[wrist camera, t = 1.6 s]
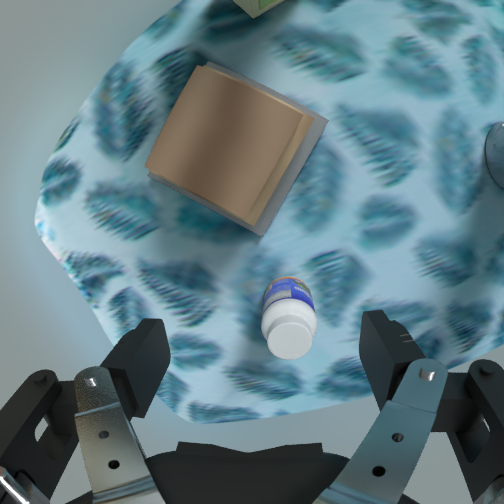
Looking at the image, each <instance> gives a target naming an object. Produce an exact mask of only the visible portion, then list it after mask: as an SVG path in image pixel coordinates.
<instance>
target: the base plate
mask: <svg viewBox="0 0 504 504" xmlns="http://www.w3.org/2000/svg"><path fill="white" fill-rule="evenodd" d="M205 66H208V67H210V68H213V69H215V70H218V71H220V72H222V73H225V74H227V75H229V76H232V77H234V78H236V79H238V80H241V81H243V82H245V83H247V84H249V85H251V86H254V87H256V88H258V89H260V90H262V91H264V92H266V93H268V94H270V95H272V96H274V97H276V98H278V99H280V100H282V101H284V102H286V103H288V104H290V105H291V106H293V107H295V108H297V109H299V110H301V111H303V112H304V113H306V114H308V115H310V116H311V117H313V118H315V119H314V121H313V123H312V124H311V126H310V128H309V130H308V131H307V133H306V135H305V137H304V138H303V140H302V142H301V144H300V145H299V147H298V149H297V151H296V153H295V154H294V156H293V158H292V160H291V161H290V163H289V165H288V167H287V168H286V170H285V172H284V174H283V175H282V177H281V179H280V181H279V183H278V184H277V186H276V188H275V190H274V191H273V193H272V195H271V197H270V199H269V200H268V202H267V204H266V206H265V207H264V209H263V211H262V213H261V215H260V216H259V218H258V220H257V222H256V224H255V225H254V226H252V225H250V224H248V223H246V222H244V221H243V220H241V219H239V218H237V217H235V216H233V215H232V214H230V213H228V212H226V211H224V210H222V209H220V208H218V207H217V206H215V205H213V204H211V203H209V202H207V201H205V200H203V199H202V198H200V197H198V196H196V195H194V194H192V193H190V192H188V191H186V190H185V189H183V188H181V187H179V186H177V185H175V184H173V183H171V182H169V181H167V180H165V179H164V178H162V177H160V176H158V175H156V174H154V173H152V172H149V174H148V176H149V177H151V178H153V179H155V180H156V181H158V182H160V183H162V184H164V185H166V186H168V187H170V188H172V189H174V190H176V191H177V192H179V193H181V194H183V195H185V196H187V197H189V198H191V199H193V200H194V201H196V202H198V203H200V204H202V205H204V206H206V207H208V208H209V209H211V210H213V211H215V212H217V213H219V214H221V215H222V216H224V217H226V218H228V219H230V220H232V221H234V222H235V223H237V224H239V225H241V226H243V227H245V228H247V229H248V230H250V231H252V232H254V233H256V234H258V235H259V236H261V237H263V235H264V233H265V232H266V230H267V228H268V226H269V225H270V223H271V221H272V219H273V217H274V216H275V214H276V212H277V210H278V209H279V207H280V205H281V203H282V202H283V200H284V198H285V196H286V195H287V193H288V191H289V189H290V188H291V186H292V184H293V182H294V181H295V179H296V177H297V175H298V174H299V172H300V170H301V168H302V167H303V165H304V163H305V161H306V160H307V158H308V156H309V154H310V153H311V151H312V149H313V147H314V146H315V144H316V142H317V140H318V138H319V137H320V135H321V133H322V131H323V130H324V128H325V126H326V124H327V123H328V121H329V120H327V119H326V118H324V117H322V116H321V115H319V114H317V113H315V112H314V111H312V110H310V109H308V108H307V107H305V106H303V105H301V104H299V103H297V102H295V101H294V100H292V99H290V98H288V97H286V96H284V95H282V94H280V93H278V92H276V91H274V90H272V89H270V88H268V87H266V86H264V85H262V84H260V83H258V82H256V81H253V80H251V79H249V78H247V77H245V76H243V75H240V74H238V73H236V72H233V71H231V70H229V69H226V68H224V67H222V66H219V65H217V64H214V63H212V62H209V61H208V62H207V64H206V65H205Z"/></svg>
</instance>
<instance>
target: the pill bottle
mask: <svg viewBox="0 0 504 504" xmlns="http://www.w3.org/2000/svg"><path fill="white" fill-rule="evenodd" d="M261 329H262V333H263V336H264V337H265V339H266V340H267V344H268V348H269V350H270V351H271V352H272V353H273V354H274V355H275V356H276V357H279V358H281V359H286V360H292V359H297V358H300V357H302V356H303V355H305V354H306V353H307V352H308V351H309V349H310V347H311V345H312V338H313V337H314V335H315V333H316V330H317V318H316V314H315V309H314V305H313V301H312V297H311V293H310V290H309V288H308V286H307V285H306V284H305V283H304V282H303V281H302V280H300V279H298V278H296V277H292V276H285V277H280V278H277V279H275V280H274V281H272V282H271V283H270V284H269V286H268V287H267V289H266V291H265V295H264V304H263V313H262V322H261Z"/></svg>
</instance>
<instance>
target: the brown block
mask: <svg viewBox="0 0 504 504" xmlns="http://www.w3.org/2000/svg"><path fill="white" fill-rule="evenodd" d="M314 119H315V118H313V117H311V116H310V115H308V114H306V113H304V112H303V111H301V110H299V109H297V108H295V107H293V106H291V105H290V104H288V103H286V102H284V101H282V100H280V99H278V98H276V97H274V96H272V95H270V94H268V93H266V92H264V91H262V90H260V89H258V88H256V87H254V86H251V85H249V84H247V83H245V82H243V81H241V80H238V79H236V78H234V77H232V76H229V75H227V74H225V73H222V72H220V71H218V70H215V69H213V68H210V67H208V66H205V65H204V66H203V67H202V66H199V65H197V66H196V68H195V70H194V71H193V73H192V75H191V77H190V78H189V80H188V82H187V83H186V85H185V87H184V89H183V91H182V92H181V94H180V96H179V98H178V100H177V101H176V103H175V105H174V107H173V109H172V111H171V113H170V114H169V116H168V118H167V120H166V122H165V124H164V126H163V128H162V130H161V132H160V134H159V136H158V138H157V140H156V142H155V144H154V147H153V149H152V151H151V153H150V155H149V157H148V159H147V162H146V164H145V167H146V168H148V169H149V171H150V172H152V173H154V174H156V175H158V176H160V177H162V178H164V179H165V180H167V181H169V182H171V183H173V184H175V185H177V186H179V187H181V188H183V189H185V190H186V191H188V192H190V193H192V194H194V195H196V196H198V197H200V198H202V199H203V200H205V201H207V202H209V203H211V204H213V205H215V206H217V207H218V208H220V209H222V210H224V211H226V212H228V213H230V214H232V215H233V216H235V217H237V218H239V219H241V220H243V221H244V222H246V223H248V224H250V225H252V226H254V225H255V224H256V222H257V220H258V218H259V216H260V215H261V213H262V211H263V209H264V207H265V206H266V204H267V202H268V200H269V199H270V197H271V195H272V193H273V191H274V190H275V188H276V186H277V184H278V183H279V181H280V179H281V177H282V175H283V174H284V172H285V170H286V168H287V167H288V165H289V163H290V161H291V160H292V158H293V156H294V154H295V153H296V151H297V149H298V147H299V145H300V144H301V142H302V140H303V138H304V137H305V135H306V133H307V131H308V130H309V128H310V126H311V124H312V123H313V121H314Z"/></svg>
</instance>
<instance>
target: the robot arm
mask: <svg viewBox="0 0 504 504" xmlns="http://www.w3.org/2000/svg"><path fill="white" fill-rule="evenodd" d="M486 159H487V164H488V168H489V171H490V173H491V176H492V177H493V179H494V181H495V182H496V183H497V184H498V185H499V186H500V187H502V188H503V189H504V122H499V123H497V124H495V125H494V126H493V127H492V128H491V130H490V132H489V133H488V137H487V140H486ZM359 355H360V359H361V362H362V365H363V367H364V370H365V372H366V375H367V377H368V380H369V383H370V385H371V388H372V391H373V393H374V396H375V398H376V401H377V404H378V407H379V409H380V414H379V416H378V417H377V419H376V421H375V422H374V424H373V426H372V427H371V429H370V430H369V432H368V434H367V435H366V437H365V438H364V440H363V441H362V443H361V444H360V446H359V447H358V449H357V450H356V452H355V453H354V455H353V456H352V458H351V459H349V458H346V457H344V456H340V455H337V454H331V453H325V452H323V449H322V443H312V444H297V445H284V446H280V447H275V448H271V449H266V450H261V451H256V452H250V453H246V452H241V451H236V450H232V449H228V448H224V447H220V446H216V445H213V444H200V443H189V442H178V446H177V449H176V451H171V452H165V453H161V454H157V455H155V456H152V457H149V458H147V457H146V455H145V453H144V451H143V449H142V446H141V444H140V442H139V440H138V438H137V436H136V433H135V431H134V429H133V426H132V424H131V422H130V421H131V419H132V417H139V418H144V417H145V415H146V413H147V411H148V408H149V406H150V404H151V402H152V400H153V398H154V396H155V394H156V392H157V389H158V387H159V385H160V383H161V381H162V379H163V377H164V375H165V373H166V371H167V368H168V366H169V364H170V358H171V355H170V348H169V344H168V340H167V335H166V331H165V327H164V323H163V321H162V319H149V318H144V319H143V320H142V321H141V322H140V323H139V325H138V326H137V327H136V329H132V330H131V331H129V332H128V333H126V334H125V335H123V337H122V338H121V339H120V340H119V342H118V344H116V345H115V347H114V349H113V350H112V351H111V352H110V353H109V355H108V356H107V357H106V358H105V360H104V361H103V362H102V364H101V365H100V366H94V367H89V368H86V369H84V370H82V371H81V372H79V373H78V374H77V375H76V377H75V378H74V381H58V378H57V376H56V374H55V373H54V372H53V371H51V370H40V371H37V372H35V373H33V374H31V375H30V376H29V377H28V378H27V379H26V380H25V381H24V383H23V384H22V385H21V386H20V387H19V389H18V390H17V391H16V392H15V393H14V395H13V396H12V397H11V398H10V399H9V400H8V402H7V403H6V404H5V405H4V407H3V408H2V409H1V410H0V504H50V502H49V501H50V499H51V497H52V495H53V492H54V490H55V488H56V486H57V484H58V482H59V480H60V478H61V476H62V474H63V472H64V470H65V468H66V466H67V464H68V462H69V460H70V458H71V456H72V454H73V452H74V450H75V448H76V446H77V444H78V442H80V446H81V451H82V455H83V459H84V462H85V466H86V470H87V473H88V478H89V481H90V484H91V488H92V490H91V491H89V492H87V493H86V494H84V495H82V496H80V497H78V498H76V499H74V500H72V501H70V502H68V503H66V504H419V503H417V502H416V501H414V500H413V499H411V498H410V497H408V496H406V495H404V494H403V492H404V490H405V488H406V486H407V484H408V482H409V480H410V478H411V476H412V473H413V471H414V469H415V467H416V465H417V463H418V460H419V458H420V456H421V453H422V451H423V449H424V446H425V444H426V441H427V439H428V436H429V434H430V432H446V433H447V435H448V437H449V440H450V442H451V444H452V447H453V449H454V452H455V455H456V457H457V460H458V462H459V465H460V467H461V470H462V473H463V475H464V478H465V481H466V483H467V486H468V489H469V492H470V495H471V498H472V501H473V504H504V370H503V369H502V367H501V366H500V365H499V364H497V363H496V362H493V361H491V360H485V359H482V360H477V361H474V362H473V363H472V364H471V365H470V367H469V370H468V373H450V372H448V371H447V368H446V367H445V366H444V365H443V364H442V363H441V362H439V361H437V360H433V359H427V358H426V357H425V355H424V354H423V352H422V351H421V350H420V348H419V347H418V345H417V344H416V342H415V341H413V338H412V337H411V335H409V332H408V331H407V330H406V328H405V327H404V326H403V325H401V324H400V323H398V322H397V321H395V320H393V321H390V320H389V319H388V317H387V316H386V314H385V313H384V311H383V310H373V311H364V312H363V315H362V323H361V333H360V342H359ZM43 417H44V419H45V421H46V422H47V424H48V427H47V428H46V430H45V431H44V433H43V434H42V436H41V437H40V439H39V441H38V442H37V441H36V439H35V429H36V427H37V425H38V424H39V422H40V421H41V419H42V418H43ZM484 419H485V420H486V422H487V424H488V426H489V429H490V432H489V430H488V428H487V426H486V425H485V423H484V421H483V420H484Z"/></svg>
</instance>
